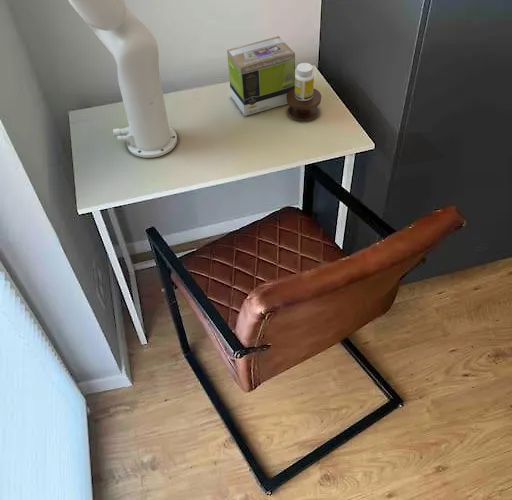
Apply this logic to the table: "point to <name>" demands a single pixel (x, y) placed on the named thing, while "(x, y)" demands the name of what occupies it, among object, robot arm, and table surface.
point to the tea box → (261, 74)
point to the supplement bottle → (304, 82)
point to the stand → (303, 106)
